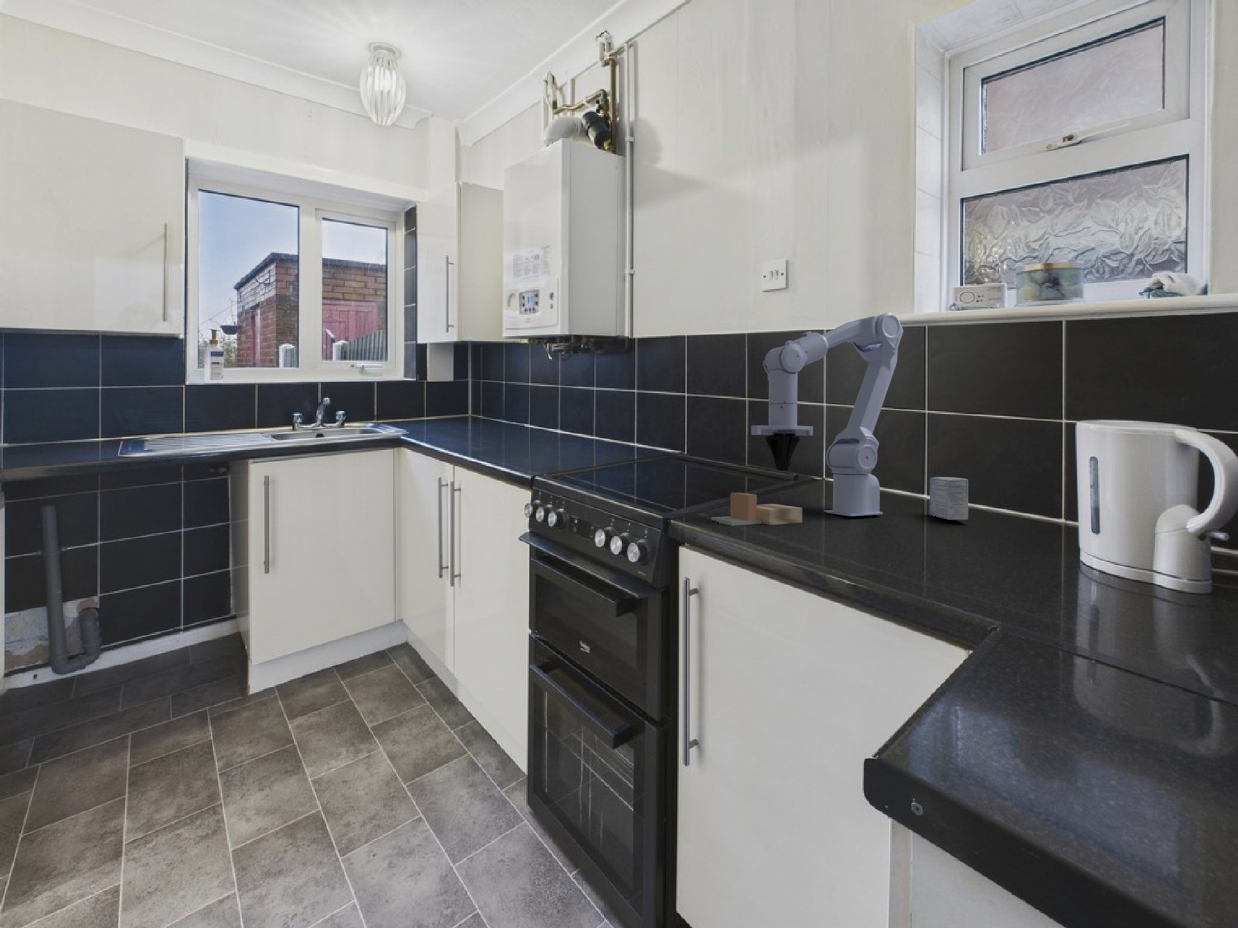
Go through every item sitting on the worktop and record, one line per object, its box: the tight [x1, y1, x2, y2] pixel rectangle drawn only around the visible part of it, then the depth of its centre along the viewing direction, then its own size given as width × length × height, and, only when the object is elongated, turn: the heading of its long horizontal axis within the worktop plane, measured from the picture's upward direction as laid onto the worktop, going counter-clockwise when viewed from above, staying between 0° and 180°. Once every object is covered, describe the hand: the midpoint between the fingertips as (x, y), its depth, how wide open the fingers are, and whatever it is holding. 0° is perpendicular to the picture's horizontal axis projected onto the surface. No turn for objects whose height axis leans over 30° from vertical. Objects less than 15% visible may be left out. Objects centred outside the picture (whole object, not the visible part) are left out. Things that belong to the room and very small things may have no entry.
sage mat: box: [710, 516, 763, 527], centre depth 122 cm, size 7×8×1 cm
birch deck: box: [757, 503, 803, 526], centre depth 124 cm, size 8×9×3 cm
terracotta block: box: [729, 492, 758, 521], centre depth 122 cm, size 5×6×2 cm
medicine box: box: [929, 476, 969, 521], centre depth 131 cm, size 8×4×9 cm, turn 179°
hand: (782, 470), depth 126 cm, fingers closed
